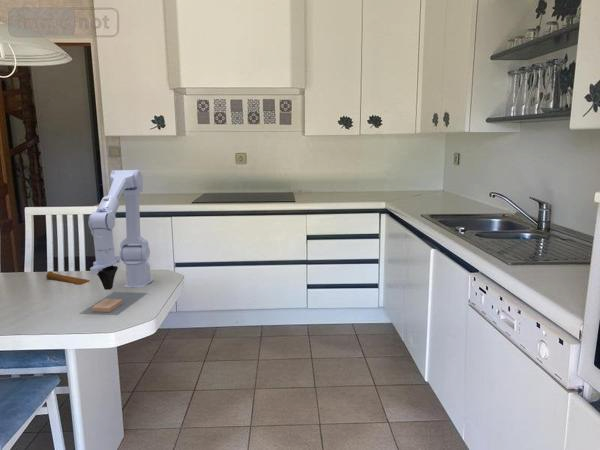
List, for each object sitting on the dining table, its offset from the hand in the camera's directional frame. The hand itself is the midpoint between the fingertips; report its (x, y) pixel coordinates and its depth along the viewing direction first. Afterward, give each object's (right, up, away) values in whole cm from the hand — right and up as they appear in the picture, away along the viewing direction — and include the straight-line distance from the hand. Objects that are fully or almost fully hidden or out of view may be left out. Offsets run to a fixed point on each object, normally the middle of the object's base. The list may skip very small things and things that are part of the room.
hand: (108, 289), depth 149 cm
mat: (+1, -6, +5) cm, 7 cm away
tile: (0, -5, +3) cm, 6 cm away
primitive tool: (-30, -2, +32) cm, 44 cm away
